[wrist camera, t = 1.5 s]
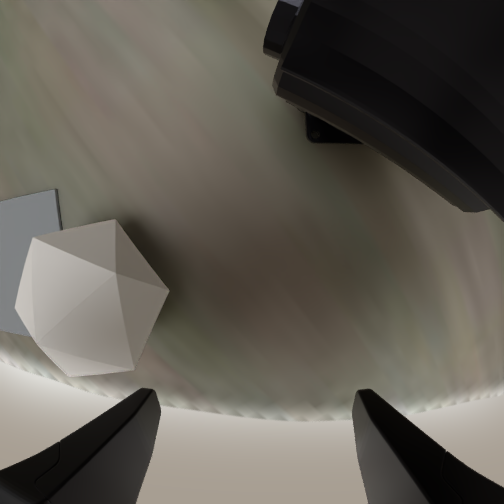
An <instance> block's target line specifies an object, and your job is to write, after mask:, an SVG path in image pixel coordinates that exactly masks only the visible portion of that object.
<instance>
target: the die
mask: <svg viewBox="0 0 504 504" xmlns="http://www.w3.org/2000/svg"><path fill="white" fill-rule="evenodd" d="M169 291H170V290H169V289H168V288H167V287H166V285H165V284H164V283H163V282H162V280H161V279H160V278H159V276H158V275H157V274H156V273H155V271H154V270H153V269H152V267H151V266H150V265H149V264H148V262H147V261H146V260H145V258H144V257H143V256H142V254H141V253H140V252H139V250H138V249H137V248H136V246H135V245H134V244H133V242H132V241H131V240H130V238H129V237H128V236H127V234H126V233H125V231H124V230H123V229H122V227H121V226H120V224H119V223H118V222H117V220H116V219H113V220H108V221H103V222H98V223H93V224H88V225H84V226H79V227H75V228H70V229H66V230H61V231H57V232H52V233H48V234H44V235H40V236H36V237H33V238H32V241H31V244H30V248H29V251H28V255H27V258H26V262H25V265H24V269H23V273H22V277H21V281H20V285H19V290H18V294H17V299H16V304H15V309H16V311H17V313H18V315H19V316H20V318H21V320H22V321H23V323H24V325H25V326H26V328H27V330H28V331H29V333H30V335H31V336H32V338H33V339H34V341H35V342H36V344H37V345H38V346H39V347H40V348H41V349H42V350H43V351H44V353H45V354H46V355H47V356H48V357H49V358H50V359H51V360H52V361H53V362H54V363H55V364H56V365H57V366H58V367H59V368H60V369H61V370H62V371H63V372H64V373H65V374H66V375H67V376H68V377H74V376H86V375H97V374H106V373H115V372H123V371H131V370H135V368H136V366H137V363H138V361H139V359H140V356H141V354H142V351H143V349H144V347H145V344H146V342H147V340H148V337H149V335H150V333H151V331H152V328H153V326H154V324H155V322H156V319H157V317H158V315H159V313H160V310H161V308H162V306H163V304H164V302H165V299H166V297H167V295H168V293H169Z"/></svg>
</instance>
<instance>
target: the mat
mask: <svg viewBox="0 0 504 504" xmlns="http://www.w3.org/2000/svg"><path fill="white" fill-rule="evenodd" d="M61 230H62V225H61V218H60V210H59V202H58V193H57V189H54V190H49V191H44V192H39V193H34V194H30V195H25V196H21V197H17V198H12V199H8V200H4V201H0V330H2V331H6V332H11V333H15V334H20V335H25V336H30V337H32V336H31V335H30V333H29V331H28V330H27V328H26V326H25V325H24V323H23V321H22V320H21V318H20V316H19V315H18V313H17V311H16V309H15V304H16V299H17V294H18V290H19V285H20V281H21V277H22V273H23V269H24V265H25V262H26V258H27V255H28V251H29V248H30V244H31V241H32V238H33V237H36V236H40V235H44V234H48V233H52V232H57V231H61Z"/></svg>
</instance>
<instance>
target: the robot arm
mask: <svg viewBox="0 0 504 504" xmlns="http://www.w3.org/2000/svg"><path fill="white" fill-rule="evenodd" d="M263 52H264V54H265V55H267V56H270V57H272V58H275V59H277V60H279V63H278V66H277V69H276V72H275V75H274V79H273V85H272V86H273V88H274V91H275V93H276V95H277V96H279V97H281V98H283V99H286V102H287V103H289V104H292V105H294V106H296V107H297V108H298V109H299V110H300V111H301V112H305V126H306V137H307V139H308V141H310V142H311V143H336V144H365V145H367V146H368V147H370V148H372V149H373V150H375V151H377V152H378V153H380V154H381V155H383V156H384V157H386V158H388V159H389V160H391V161H392V162H394V163H395V164H397V165H398V166H400V167H401V168H403V169H404V170H406V171H407V172H408V173H410V174H411V175H413V176H414V177H416V178H417V179H418V180H420V181H421V182H423V183H424V184H425V185H427V186H428V187H429V188H431V189H432V190H433V191H435V192H436V193H437V194H439V195H440V196H441V197H443V198H444V199H445V200H447V201H448V202H449V203H450V204H452V205H453V206H457V207H458V208H459V209H460V210H462V211H463V212H480V211H484V210H487V209H491V210H492V211H493V212H494V213H495V214H496V215H497V216H498V217H499V218H500V219H501V220H502V221H503V222H504V0H278V2H277V5H276V7H275V9H274V11H273V14H272V16H271V19H270V22H269V25H268V27H267V31H266V35H265V38H264V45H263ZM312 131H316V132H317V133H318V135H319V136H318V138H317V139H314V138H312V137H311V132H312ZM160 416H161V408H160V404H159V401H158V398H157V395H156V392H155V390H153V389H149V388H140V389H139V390H137V391H136V392H134V393H133V394H131V395H130V396H128V397H127V398H125V399H124V400H122V401H121V402H119V403H118V404H117V405H115V406H114V407H112V408H110V409H109V410H107V411H106V412H104V413H103V414H101V415H100V416H98V417H97V418H95V419H94V420H92V421H90V422H89V423H87V424H86V425H84V426H83V427H81V428H79V429H78V430H76V431H75V432H73V433H71V434H70V435H68V436H67V437H65V438H63V439H62V440H61V441H60V442H57V443H55V444H54V445H52V446H50V447H49V448H47V449H45V450H43V451H41V452H40V453H38V454H36V455H34V456H32V457H30V458H27V459H25V460H23V461H21V462H19V463H16V464H14V465H12V466H9V467H7V468H5V469H2V470H0V504H136V501H137V498H138V495H139V492H140V489H141V486H142V483H143V480H144V477H145V474H146V471H147V468H148V466H149V463H150V460H151V457H152V453H153V449H154V444H155V439H156V435H157V430H158V425H159V420H160ZM352 418H353V425H354V433H355V441H356V449H357V457H358V462H359V466H360V470H361V474H362V479H363V483H364V487H365V491H366V495H367V499H368V504H504V487H502V486H500V485H498V484H497V483H495V482H493V481H491V480H489V479H487V478H486V477H484V476H483V475H481V474H479V473H477V472H476V471H474V470H473V469H471V468H470V467H468V466H467V465H465V464H464V463H463V462H461V461H460V460H458V459H457V458H456V457H454V456H453V455H452V454H450V453H449V452H448V451H447V452H446V450H445V449H444V448H443V447H442V446H440V445H439V444H438V443H437V442H435V441H434V440H433V439H432V438H430V437H429V436H428V435H426V434H425V433H424V432H423V431H422V430H420V429H419V428H418V427H417V426H415V425H414V424H413V423H412V422H410V421H409V420H408V419H407V418H406V417H404V416H403V415H402V414H401V413H400V412H398V411H397V410H396V409H395V408H393V407H392V406H391V405H390V404H389V403H387V402H386V401H385V400H384V399H383V398H381V397H380V396H379V395H378V394H377V393H375V392H374V391H373V390H372V389H361V390H358V391H357V392H356V395H355V400H354V404H353V409H352Z"/></svg>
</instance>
